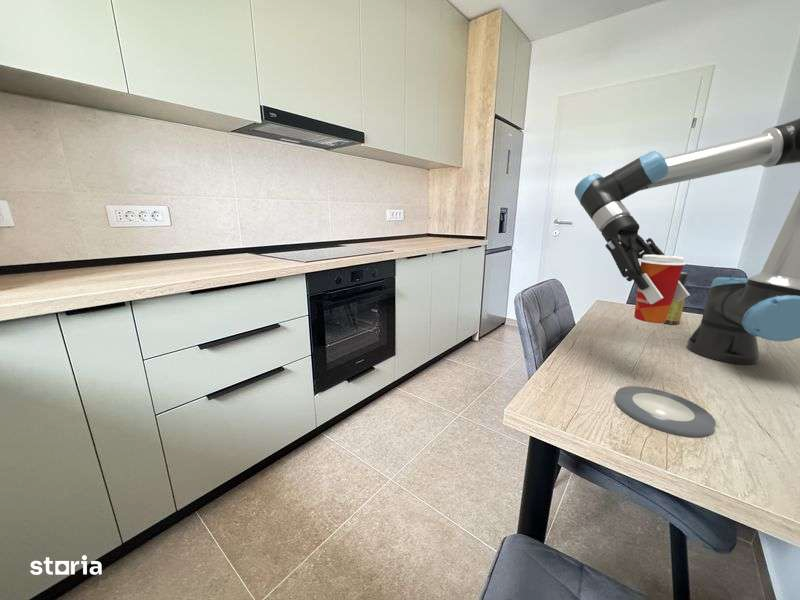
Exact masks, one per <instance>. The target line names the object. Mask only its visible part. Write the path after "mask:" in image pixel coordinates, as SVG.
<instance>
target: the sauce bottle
mask: <svg viewBox="0 0 800 600" xmlns="http://www.w3.org/2000/svg"><path fill="white" fill-rule="evenodd" d="M688 275H689V273H688V272H685V271H681V274H680V278H679V281H680V282H681V284H682V285H683V286H684V288H685V289H686V290H687V288H686V286H685V284H686V279H687V278H688ZM686 298H687V297H686ZM686 298H684V299H682V300H680V301H676V300H675V299H674V297H673V300H672V303H671V307H670V310H669V313H668V316H667V319H666V321H665V323H664V324H667V325H671V324H673V326H675V325H676V326H677V325H679V324H680V321H681V318H682V313H683V310H684V307H685V306H684V305H685V304H686V303H685V302H686Z"/></svg>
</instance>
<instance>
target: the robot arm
mask: <svg viewBox="0 0 800 600" xmlns="http://www.w3.org/2000/svg"><path fill="white" fill-rule="evenodd" d="M795 163H800V117H799V118H797V119H794V120H792V121H788V122H785V123H783V124H779V125H775V126H772V127H767V128H766V129H765V130H763V131H762V132H761V133H759V134H756V135H751V136H748V137H743V138H740V139H736V140H731V141H727V142H723V143H719V144H715V145H710V146H707V147H703V148H698V149H694V150H691V151H687V152H682V153H678V154H673V155H671V156H670V155H669V156H666V157H664V156H663V155H662V154H661V153H660V152H659V151H655V150H652V151H649V152H647V153H645V154H643V155H642V156H641V155H640V156H639V157H638V158H636V159H634V160H633V161H631V162H629V163H627V164H626V165H623V166H622V167H620V168H617V169H615V170H613V171H612V172H611V173H610V174H608V175H606V176H602V175H601V174H599V173H594V174H593V173H592V174H590V175H589V174H588V175H587V176H586V177H583V179H581V180H580V181H579V182H578V183H577V184H576V186H575V189H574V195H575V196H576V198H577V200H578V202H579V203H580V206H582V208H583V209H584V211H585V213H586V214H587V215H588V216H589V218H590V219H591V221H592V222H593V223H594V225H595V227H596V229H597V230H598V231H599V232H600V233H601V235H602V237H603V239H604V240H605V241H606V244H605V245H604V246H605V248H606V249H607V250H608V251H609V253H610V254H611V256H612V258H613V260H614V262H615V264H616V266H617V268H618V270H619V273H620V274H621V276H622V278H626V279H625V280H626V281H627V282H632V281H634V283H635V285H636V286H637V288H638V287H639V289H640V290H641V291H642V293H643V294H644V296H645V297H646V299H647V300H648V302H649V303H650V304H654V303H655V302H657V301H659V300H661V299H662V298H664V297H663V296H662V295H661V293H660V292H659V290H658V289H657V288H656V286H655V285H654V284H653V282H652V281H651V279H650V278H649V277H648V275H647V274H646V273H644V274H642V270H641V263H640V260H641V259H642V257H643V255H666V254H665V253H664V252H663V251H662V250H661V249H660V248H659V247H658V246H657V245H656V243H655V241H654V240H653V239H652V238H650V237H649V238H647V239H643V237H641V236H640V235H639V234H638V233H639V230H640V225H639V223H638V222H637V220H636V219H635V218H634V216H633V215H631V212H630V211H629V210H628V208H627V207H626V206H625V205H624V204H623V202H622V200H624V199H625V198H629V197H630V196H631V195H634V194H635V193H637V192H640V191H641V192H642V191H645V190H649V189H652V188H659V187H663V186H667V185H673V184H677V183H682V182H686V181H691V180H696V179H700V178H705V177H711V176H715V175H719V174H724V173H728V172H733V171H738V170H742V169H747V168H752V167H756V166H762V167H763V168H771V167H775V166H781V165H786V164H787V165H788V164H795ZM794 199H795V200H794V201H793V203H792V206H791V207H790V210H789V211H788V215H786V219H785V220H784V222H783V225H782V226H781V229H780V231H779V233H778V235H777V237H776V240H775V242H774V244H773V246H772V248H771V250H770V252H769V254H768V257H767V259H766V261H765V262H764V265H763V268H762V269H761V271H760V273H757V274H755V275H752V276H750V277H748V278H742V277H741V278H740V277H730V276H729V277H728V276H727V277H726V276H725V277H723V276H717V277H715V278H713V280H712V283H711V285H710V286H709V289H708V293H707V298H706V303H705V305H704V310H703V313H702V318H701V322H700V324H699V325H698V327H697V329H696V330H695V331H694V332H693V333H692V335H691V336H690V337H689V339H688V341H687V344H686V349H688V350H689V351H691V352H693V353H694V354H697V355H700V356H701V357H702V356H703V357H704V358H705V357H706V358H709V359H712V360H716V361H721V362H725V363H731V364H737V365H755V364H757V363H758V360H759V358H760V357H759V356H760V353H759V346H758V340H757V338H761V339H763V340H767V341H772V342H789V341H793V340H794V341H795V340H797V339H800V189H799V190H798V192H797V195H796V197H795V198H794ZM639 259H640V260H639ZM641 274H642V275H641ZM684 286H685V285H684ZM684 286H683V285H682V284H681V282H680V281H678V284H677V287H676V291H675V294H674V299H675V300H676V301H680V300H682V299H684V298H687V297H690V296H691V294H690V292H688V290H687V288H686V287H685V288H686V289H685V288H684Z"/></svg>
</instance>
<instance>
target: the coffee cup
mask: <svg viewBox="0 0 800 600" xmlns="http://www.w3.org/2000/svg"><path fill="white" fill-rule="evenodd" d="M639 263H640V267H641V270H642V274H644V273H646V274H647V275H648V277H649V278H650V279H651V281H652V282H653V284H654V285H655V286H656V288H657V289H658V290H659V292H660V293H661V295H662V296H663V297H664V298H662V299H661V300H659V301H657V302H655V303H654V304H650V303H649V302H648V300H647V299H646V297H645V296H644V294H643V293H642V291H641V290H640V289H639V287H638V286H637V289H636V298H635V307H634V319H636V320H637V321H638V320H639V321H642V322H644V323H645V322H647V323H651V324H652V323H653V324H666V323H665V321H666V319H667V316H668V313H669V310H670V307H671V303H672V300H673V297H674V294H675V291H676V287H677V284H678V281H679V278H680V274H681V272H683V268H684V266H686V263H685V258H684V257H683V256H677V255H666V254H665V255H643V257H642V259H640V260H639ZM642 274H641V275H642Z"/></svg>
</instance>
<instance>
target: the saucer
mask: <svg viewBox="0 0 800 600" xmlns="http://www.w3.org/2000/svg"><path fill="white" fill-rule="evenodd" d="M614 402H615V404H616V406H617V408H618V409H620V411H622V412H623V413H624V414H626V415H627V416H628V417H630V418H632V419H633V420H635V421H637V422H639V423H641V424H642V425H644V426H645V425H646V426H648V427H649V428H652V429H655V430H658V431H660V432H663V433H668V434H671V435H675V436H679V437H687V438H704V437H708V436H711V435H712V434H713V433H714V432H715V428H716V426H717V425H716V423H717V422H716V419H715V418H714V417H713V416H712V414H711V413H709V411H707V410H706V409H705V408H703V407H702V406H700V405H698V404H696V403H695V402H693V401H690V400H689V399H686V398H684V397H681V396H679V395H676V394H673V393H671V392H668V391H664V390H661V389H656V388H653V387H645V386H636V385H635V386H633V385H632V386H624V387H620V388H618V389H617V390H616V392H615V395H614Z"/></svg>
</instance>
